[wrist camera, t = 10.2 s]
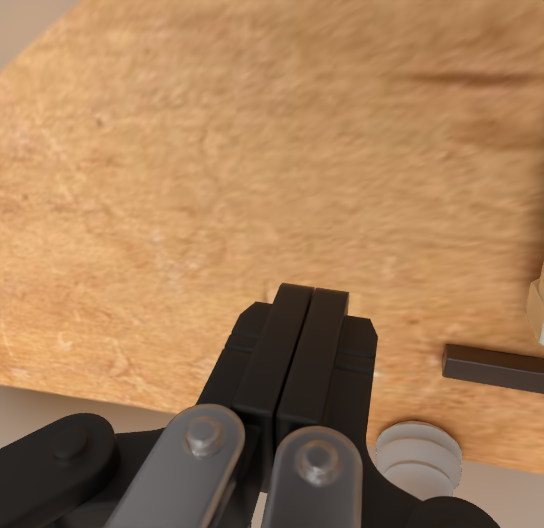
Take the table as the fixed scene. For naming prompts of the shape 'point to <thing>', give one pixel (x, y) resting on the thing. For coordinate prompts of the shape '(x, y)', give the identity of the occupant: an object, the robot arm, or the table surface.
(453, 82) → the table surface
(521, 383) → the frame
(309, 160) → the table surface
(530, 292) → the pipe fitting
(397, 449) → the rook chess piece
